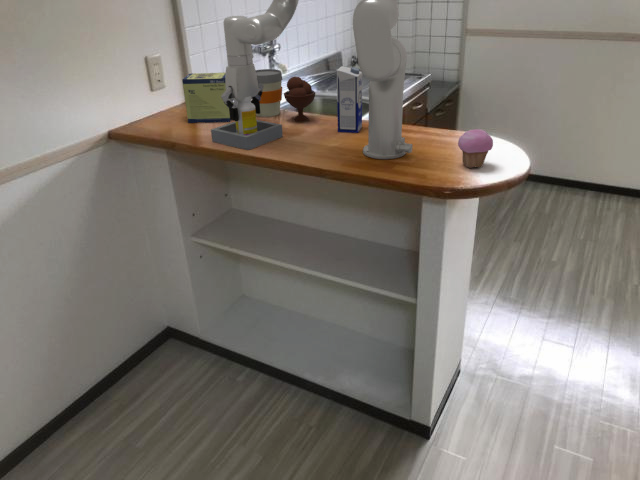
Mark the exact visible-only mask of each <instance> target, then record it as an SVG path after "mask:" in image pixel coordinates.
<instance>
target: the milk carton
mask: <svg viewBox="0 0 640 480" xmlns="http://www.w3.org/2000/svg"><path fill="white" fill-rule="evenodd" d="M336 96H337V97H336V102H337V133H352V134H356V133H357V134H358V133H359V132H360V131H361V129H362V128H363V74H362V72H361V70H360V68H358V67H354V66H352V67H348V66H347V67H346V66H343V65H341V66H340V67H339V68H338V69H336Z"/></svg>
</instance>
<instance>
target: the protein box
mask: <svg viewBox="0 0 640 480" xmlns="http://www.w3.org/2000/svg"><path fill="white" fill-rule="evenodd" d="M225 74H226V71H225V72H202V73H201V72H199V73H197V72H195V73H188V74H187V75H186V76H184V77H183V78H182V79H181V80H182V87H183V95H184V100H185V101H184V103H185V108H186V116H187V118H186V119H187V123H188V124H198V123H197V122H205V124H207V123H209V124H211V123H231V122H232V120H230V113H229V108H228V107H227V105H225V104H224V101H223V99H222V98H221V95H222V94H223V93H224V92H225V91H226V84H225ZM233 102H234V101H233ZM233 102H232V103H233Z"/></svg>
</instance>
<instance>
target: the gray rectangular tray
mask: <svg viewBox="0 0 640 480" xmlns="http://www.w3.org/2000/svg"><path fill="white" fill-rule="evenodd" d="M256 121H257V132H255V133H252V134H249V135H243V134H238V133H237V131H236V122H235V121H231V122H228V123H227V124H223V125H220V126H217V127H215V128H211V129H210V133H211V141H212V143H216V144H220V145H225V146H229V147H233V148H237V149H241V150H245V151H250V150H253V149H255V148H258V147H261V146H263V145H265V144H268V143H271V142H273V141H276V140H279V139H280V138H281V139H282V138H283V137H284V136H283V135H284V133H283V124H281V123H276V122H270V121H265V120H260V119H256Z"/></svg>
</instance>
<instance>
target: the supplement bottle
mask: <svg viewBox="0 0 640 480" xmlns="http://www.w3.org/2000/svg"><path fill="white" fill-rule="evenodd" d="M251 100H252V99H251V96H249V97H245V99H243V100H241V101H238V103H237V106H236V108H237V109H238V117H239V120H238V121H234V122H236V131H237V133H238V134H243V135H249V134H252V133H255V132H257V121H256V120H257V115H256V109H255V105H254V104H253V103H251Z"/></svg>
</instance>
